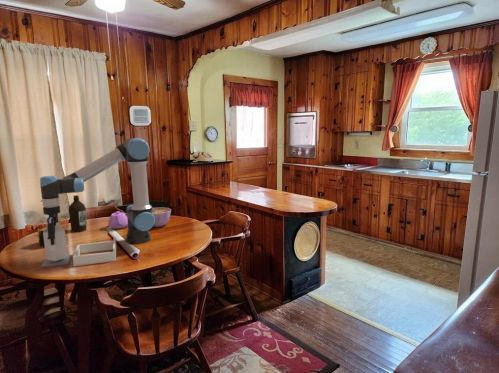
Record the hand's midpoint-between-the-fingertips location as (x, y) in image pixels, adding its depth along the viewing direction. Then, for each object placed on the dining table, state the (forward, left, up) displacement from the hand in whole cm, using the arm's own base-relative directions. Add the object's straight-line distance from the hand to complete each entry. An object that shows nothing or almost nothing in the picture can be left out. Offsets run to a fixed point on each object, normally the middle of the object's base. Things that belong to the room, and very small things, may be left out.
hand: (55, 247), depth 168 cm
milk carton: (0, 0, -6) cm, 6 cm away
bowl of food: (-57, -51, -8) cm, 77 cm away
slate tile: (0, 0, -8) cm, 8 cm away
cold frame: (-19, 0, -8) cm, 21 cm away
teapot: (-30, -56, -8) cm, 64 cm away
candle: (+8, -34, -8) cm, 36 cm away
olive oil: (-4, -59, -8) cm, 60 cm away
